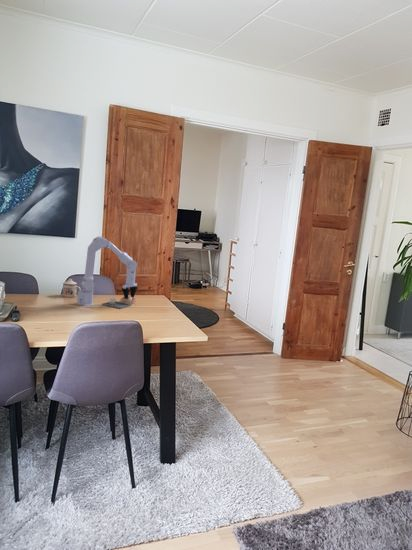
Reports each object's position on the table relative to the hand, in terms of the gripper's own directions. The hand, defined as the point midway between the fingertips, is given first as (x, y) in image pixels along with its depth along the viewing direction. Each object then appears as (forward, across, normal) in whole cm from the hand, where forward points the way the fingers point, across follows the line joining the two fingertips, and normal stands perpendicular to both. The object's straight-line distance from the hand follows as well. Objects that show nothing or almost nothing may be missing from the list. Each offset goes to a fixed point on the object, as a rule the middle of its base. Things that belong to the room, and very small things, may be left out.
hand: (129, 297), depth 281 cm
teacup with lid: (+4, -10, +40) cm, 41 cm away
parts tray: (+4, -12, +2) cm, 13 cm away
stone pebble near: (+3, -12, +5) cm, 13 cm away
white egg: (+3, 0, 0) cm, 3 cm away
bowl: (+4, +1, +2) cm, 4 cm away
